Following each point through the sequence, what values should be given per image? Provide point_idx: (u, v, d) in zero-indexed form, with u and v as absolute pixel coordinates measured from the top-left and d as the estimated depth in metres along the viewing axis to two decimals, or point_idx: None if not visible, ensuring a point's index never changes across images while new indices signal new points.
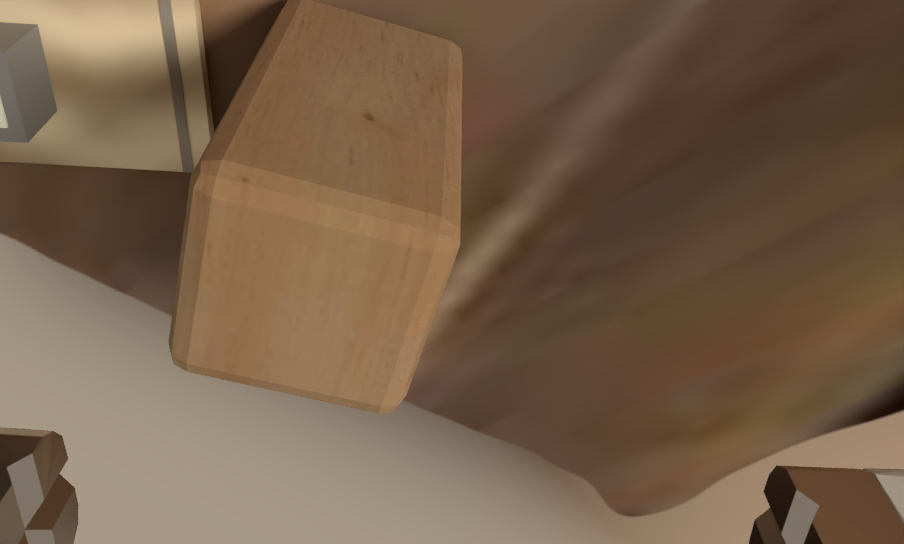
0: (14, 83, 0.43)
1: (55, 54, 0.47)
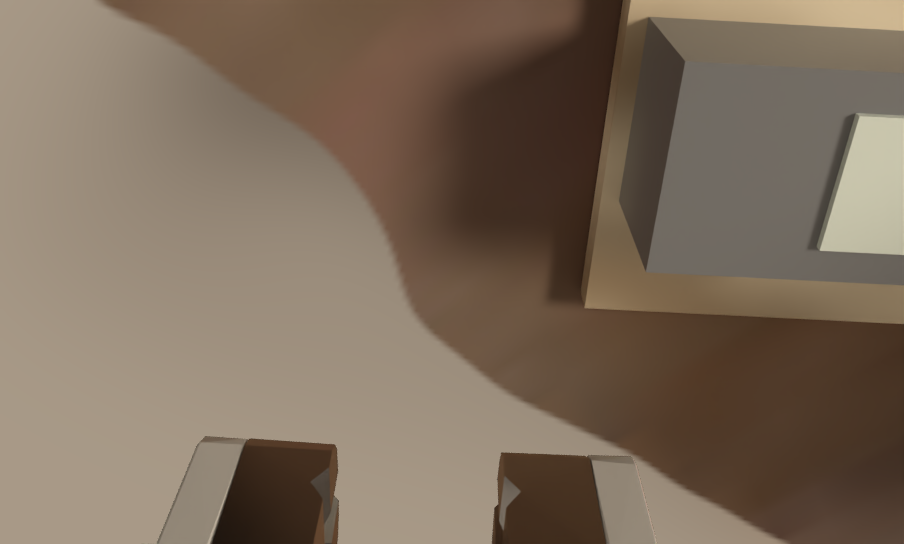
0: None
1: None
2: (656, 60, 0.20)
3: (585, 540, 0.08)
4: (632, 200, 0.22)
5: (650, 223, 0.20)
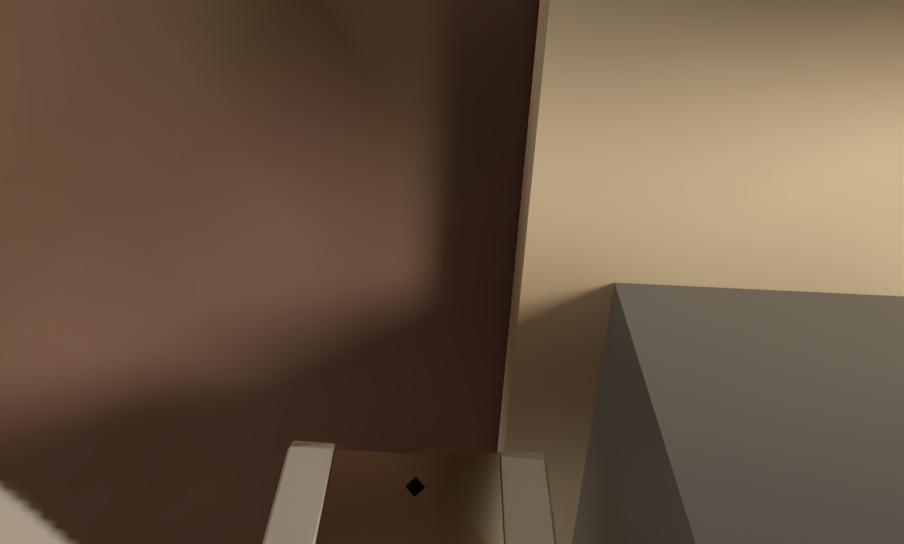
0: None
1: None
2: (629, 413, 0.09)
3: (483, 536, 0.08)
4: None
5: None
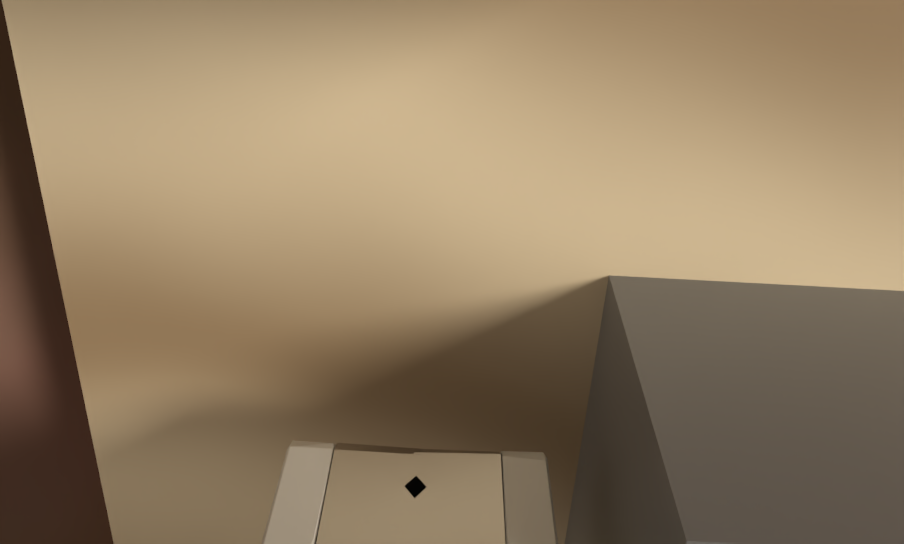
0: None
1: None
2: (621, 403, 0.09)
3: (485, 536, 0.08)
4: None
5: None
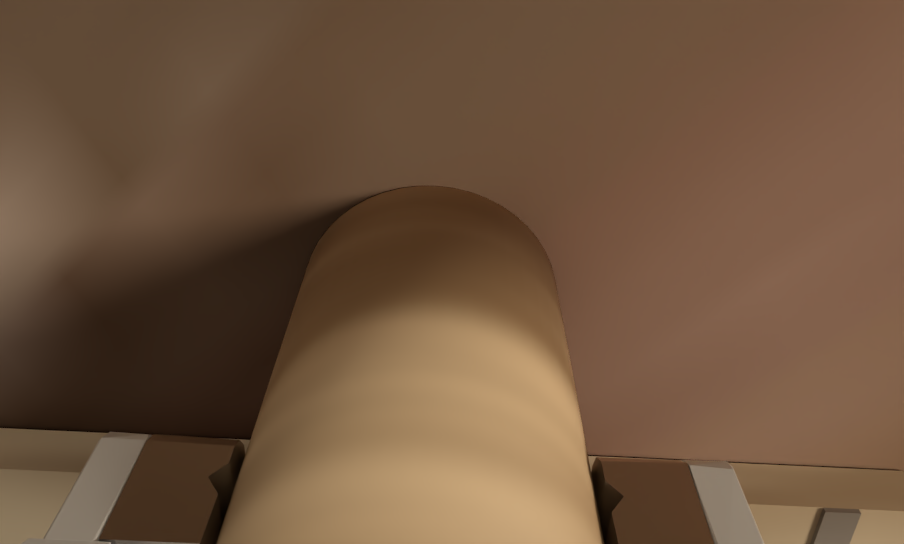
0: None
1: None
2: None
3: None
4: None
5: None
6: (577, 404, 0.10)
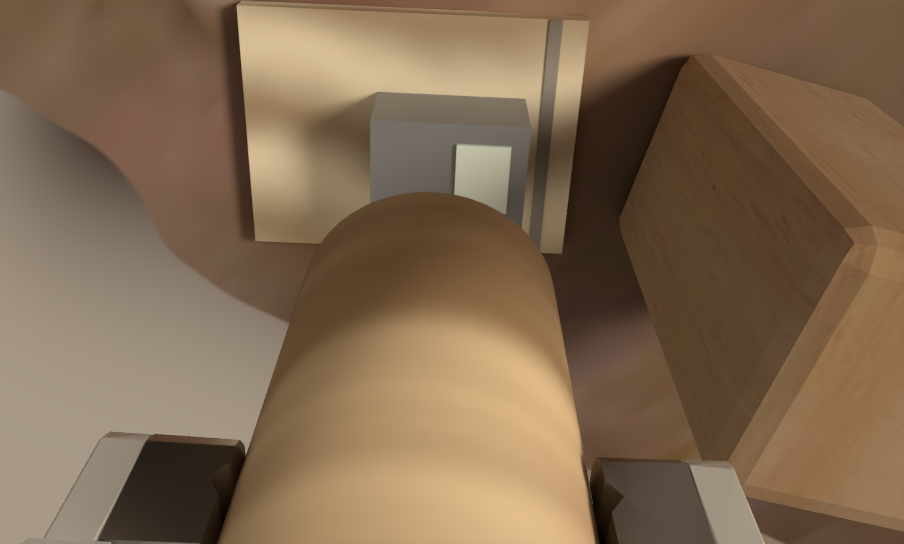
0: (527, 163, 0.38)
1: None
2: None
3: None
4: None
5: None
6: (574, 410, 0.10)
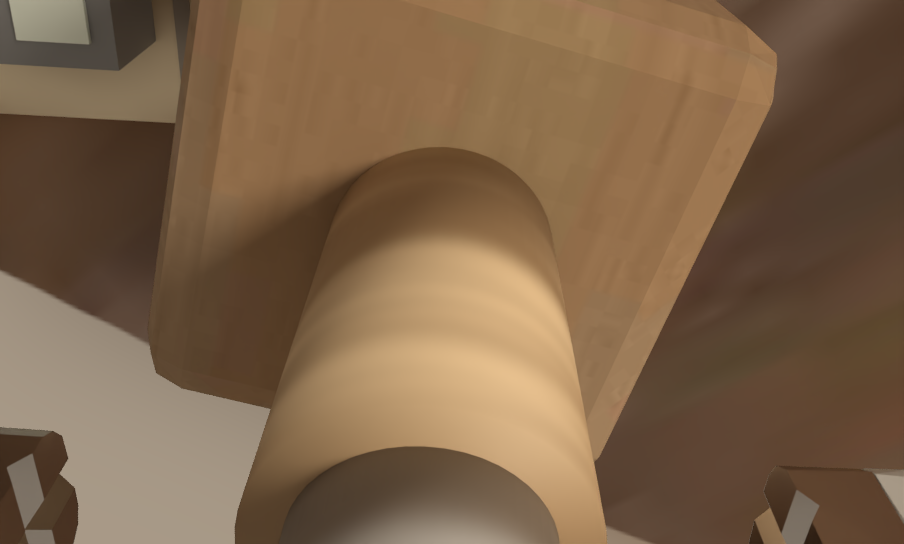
0: None
1: None
2: None
3: None
4: None
5: None
6: (567, 325, 0.12)
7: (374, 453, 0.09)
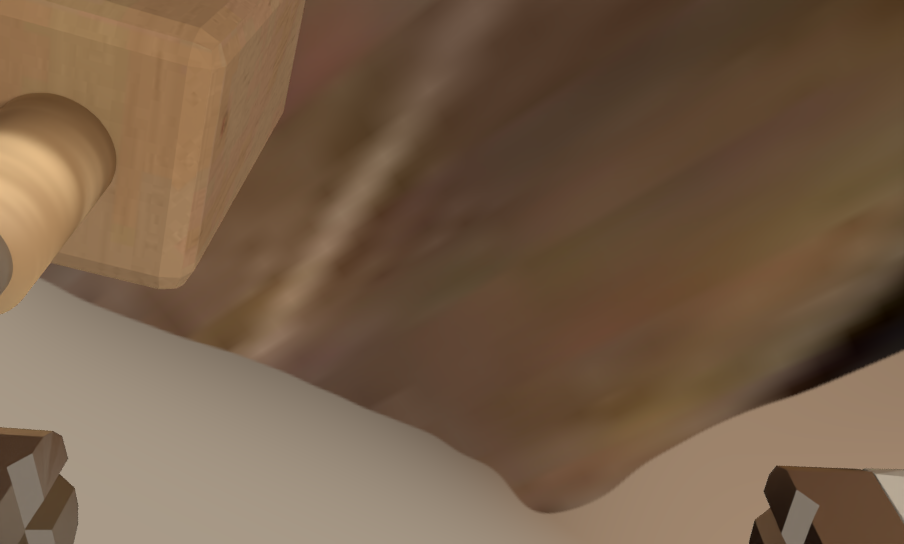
0: None
1: None
2: None
3: None
4: None
5: None
6: (69, 171, 0.25)
7: None
